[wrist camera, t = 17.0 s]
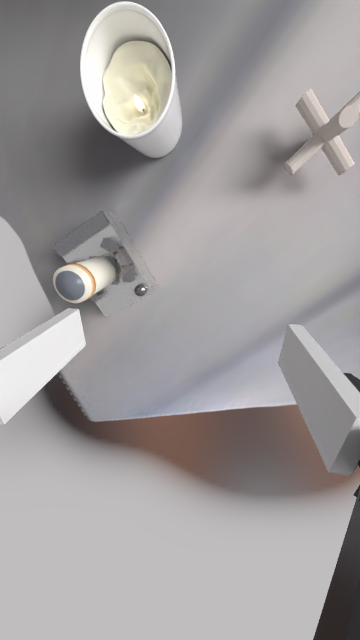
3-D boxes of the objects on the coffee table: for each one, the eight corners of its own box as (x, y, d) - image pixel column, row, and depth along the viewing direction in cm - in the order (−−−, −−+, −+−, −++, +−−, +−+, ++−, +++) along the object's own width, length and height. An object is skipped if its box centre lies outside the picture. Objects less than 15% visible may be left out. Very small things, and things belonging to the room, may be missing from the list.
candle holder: (123, 160, 35) (82, 132, 24) (124, 76, 30) (75, -4, 20) (182, 168, 34) (169, 143, 23) (192, 83, 30) (180, 4, 19)
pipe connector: (296, 203, 34) (326, 196, 25) (258, 147, 32) (276, 118, 23) (362, 146, 30) (426, 114, 21) (324, 79, 28) (378, 11, 19)
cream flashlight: (93, 283, 39) (55, 303, 30) (88, 254, 37) (47, 265, 27) (120, 285, 38) (91, 305, 29) (117, 255, 36) (84, 267, 27)
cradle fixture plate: (72, 243, 41) (46, 247, 35) (115, 212, 38) (96, 210, 32) (116, 308, 46) (100, 321, 40) (158, 285, 43) (149, 296, 36)
